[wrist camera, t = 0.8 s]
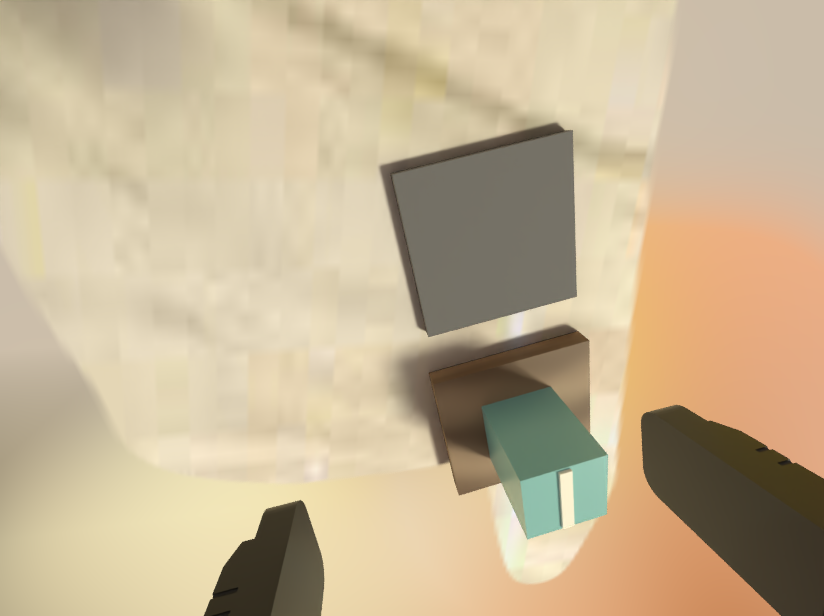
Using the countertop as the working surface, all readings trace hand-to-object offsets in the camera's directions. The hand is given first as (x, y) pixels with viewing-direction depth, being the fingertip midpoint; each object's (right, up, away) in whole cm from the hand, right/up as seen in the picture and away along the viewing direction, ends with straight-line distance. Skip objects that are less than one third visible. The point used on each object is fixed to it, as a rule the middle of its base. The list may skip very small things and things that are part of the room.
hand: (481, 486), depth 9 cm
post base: (+7, -5, +23) cm, 24 cm away
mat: (+4, +9, +16) cm, 19 cm away
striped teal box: (+7, -5, +22) cm, 23 cm away
